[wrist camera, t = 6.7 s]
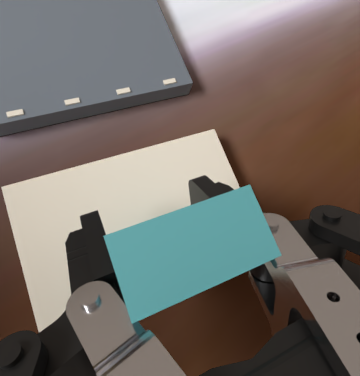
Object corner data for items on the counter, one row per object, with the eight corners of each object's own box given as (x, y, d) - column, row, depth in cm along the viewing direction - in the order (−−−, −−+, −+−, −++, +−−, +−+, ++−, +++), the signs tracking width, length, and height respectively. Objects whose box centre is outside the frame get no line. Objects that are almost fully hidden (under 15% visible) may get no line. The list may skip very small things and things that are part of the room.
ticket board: (-5, 137, 16) (-15, 125, 14) (-54, -50, 18) (-66, -73, 17) (188, 94, 19) (193, 81, 18) (123, -58, 22) (123, -78, 20)
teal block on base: (50, 346, 13) (-79, 489, 5) (10, 193, 15) (-144, 85, 6) (258, 254, 17) (407, 237, 8) (208, 137, 18) (287, 18, 10)
